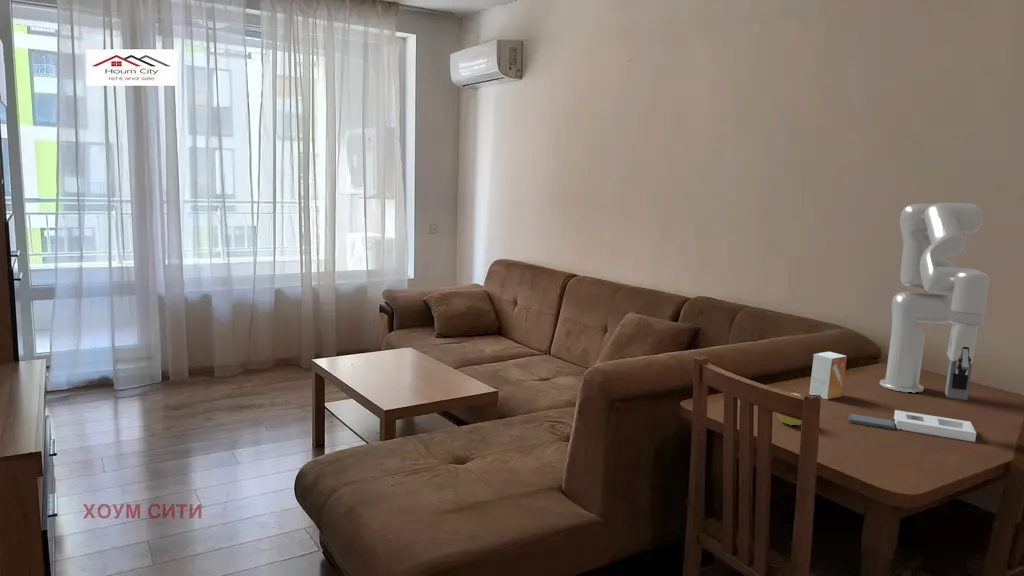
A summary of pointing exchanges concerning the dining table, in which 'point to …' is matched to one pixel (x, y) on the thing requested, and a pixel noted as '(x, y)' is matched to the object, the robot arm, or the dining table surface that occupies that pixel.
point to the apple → (789, 420)
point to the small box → (828, 375)
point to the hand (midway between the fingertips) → (957, 385)
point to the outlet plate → (935, 425)
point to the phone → (871, 421)
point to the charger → (949, 390)
